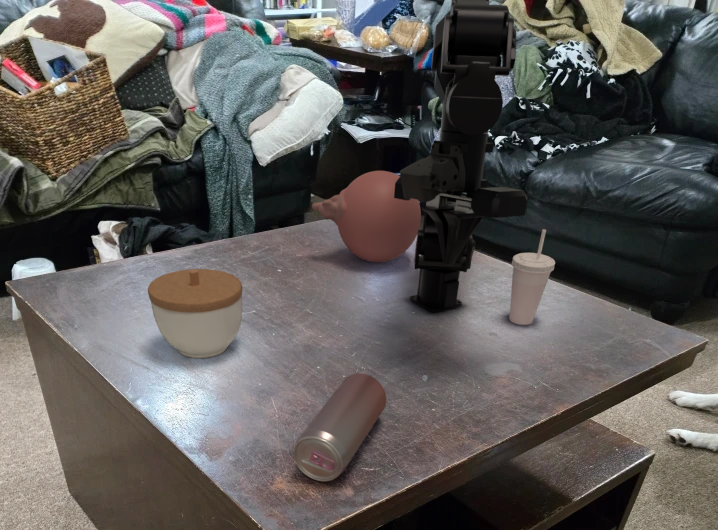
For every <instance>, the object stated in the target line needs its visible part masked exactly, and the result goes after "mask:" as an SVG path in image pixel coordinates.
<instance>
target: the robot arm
mask: <svg viewBox="0 0 718 530" xmlns="http://www.w3.org/2000/svg"><path fill="white" fill-rule="evenodd" d="M509 9H510V8H509V6H508V5H507V4H506V5H505V4H490V0H451V2H450V8H449V10H448V11H447V12H446V14H445V15H444V16H443V17H442V18H441V19H440V20H439V22H438V23H436V24H435V25H436V26H435V32H434V39H433V45H432V55H431V67H430V70H431V72H433V71H434V72H435V73H434V86H433V87H434V91H435V93H436V94H437V97H438V99H439V101H440V103H441V105H442V108H441V120H440V121H441V122H440V132H439V140H433V142H432V143H431V145H430V153H429V155H428V156H426V157H423V158H421V159H418V160H417V161H415V162H412V163H411V164H409V165H407V166H406V167H404V168H402V169H400V171H399V176H400V177H399V179H398V180H397V181H396V183H395V192H394V198H397V199H401V200H410V199H411V198H412V199H417V200H418V201H419V203H425V205H422V206H421V209H422V211H423V212H425V213H424V216H423V220H422V227H421V228H419V229H418V234H417V236H416V241H415V251H414V266H413V267H414V270H419V275H418V285H417V291H416V292H417V293H416V294H414V295H410V296H409V301H411V302H413V303H414V304H416V305H417V306H420V307H421V308H423V309H425V310H426V311H428V312H430V313H439V312H441V311H447V310H449V309H454V308H458V307H461V306H463V302H462V301H461V300H459V299H458V295H459V294H458V293H459V287H460V280H459V279H460V273H461V272H462V273H467V271H468V270H471V267H472V261H473V256H474V252H475V248H476V241H475V239H474V236H473V235H474V234H473V233H474V232H475V230H476V228H478V226H479V224H480V223H481V221H482V220H483V219H484V217H486V218H492V219H500V218H510V217H511V218H512V217H523V216H524V217H525V216H526V211H527V205H528V196H527V194H526V192H525V190H523V189H518V188H511V187H505V186H498V187H497V186H495V187H489V179H483V174H484V167H485V160H486V154H487V153H491V154H492V153H493V152H494V146H495V143H494V142H488V138H489V131H490V130H491V129H493V127H494V126H495V125H496V124H497V122H498V121H499V119H500V117H501V114H502V110H503V106H504V105H503V104H504V99H503V93H502V90H501V87H500V85H499V84H498V82H497V81H496V76H497V77H498V76H500V77H508V76H510V73H511V70H514V68H515V63H516V61H517V57H516V56H517V29H516V28H515V26H514V25H515V20H514V18H513V17H509V15H510V14H509V13H510V10H509Z"/></svg>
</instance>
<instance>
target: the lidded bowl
mask: <svg viewBox="0 0 718 530" xmlns="http://www.w3.org/2000/svg"><path fill="white" fill-rule="evenodd" d="M147 295H148V298H149V300H150V305H151V310H152V315H153V318H154V321H155V323H156V326H157V329H158V331H159V332H160V334H161V336H162V337H163V339H164V340H165V341H166V342H167V343H168V344H169V345H171V346H172V347H173V348H175V349H176V350H177V351H178V352H179V354H181V355H182V356H185V357H187V358H192V359H208V358H212V357H217V356H219V355H221V354H223V353H224V352H226V350H227V349H228V347H229V345H230V344H231V343H232V342H233V341H234V340H235V338H236V337H237V335H238V333H239V331H240V328H241V325H242V324H241V322H242V319H243V283H242V281H241V280H240V278H238V277H237V276H235V275H234V274H231V273H229V272H226V271H222V270H217V269H211V268H190V269H189V268H188V269H181V270H175V271H172V272H167V273H165V274H162V275H160V276H157V277H156V278H154V279H153V280H152V281H151V282H150V283H149V284H148V286H147Z"/></svg>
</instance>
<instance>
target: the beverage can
mask: <svg viewBox="0 0 718 530" xmlns="http://www.w3.org/2000/svg"><path fill="white" fill-rule="evenodd" d="M386 405H387V394H386V390H385V389H384V386H383V385H382V383H381V382H380V381H379V380H378V379H377V378H375V377H373V376H372V375H369V374H366V373H354V374H350V375H348V376H347V377H346V378H345V379H343V380H342V382H341V383H340V384H339V386H338V387H337V388H336V390H335V391H334V392H333V393H332V394H331V396H330V397H329V399H328V400H327V401H326V402H325V404H324V405H322V407H321V409H320V410H319V411H318V413H316V415H315V416H314V418H313V419H312V420H311V422H309V424H308V425H307V426H306V428H305V429H304V430H303V431H302V433H301V434H300V436H299V437H298V438H297V440H296V443H295V445H294V447H293V459H294V462H295V464H296V466H297V468H299V470H300V471H301V473H303V474H304V475H305V476H306V477H308V478H309V479H312V480H315V481H317V482H324V483H325V482H330V481H334V480H336V479H337V478H338V477H339V476H340V475H341V474H343V472H345V471H346V469H347V468H348V466H349V464H350V463H351V461H352V459H353V458H354V456H355V454H356V453H357V452H358V450H359V448H360V447H361V445H363V442H364V440H365V439H366V438H367V436H368V435H369V433H370V432H371V430H372V429H373V427H374V426H375V424H376V422H377V420H378V419H379V417H380V416H381V414H382V413H383V411H384V409H385V408H386Z"/></svg>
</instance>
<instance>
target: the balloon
mask: <svg viewBox="0 0 718 530" xmlns="http://www.w3.org/2000/svg"><path fill="white" fill-rule="evenodd" d="M399 177H400V175H398V174H396V173H394V172H391V171H388V170H387V171H386V170H373V171H369V172H366V173H363V174H361V175H360V176H358V177H356V178H355V179H354V180H352V181H351V182H350V183H349V184H348V186H347V187H346V188H343V189H342V190H341V191H340V192H339V194H335V195H332V197H330V198H327V199H323V201H318V202H313V203H312V204H311V209H312V210H314V211H318V212H319V215H320V216H322V218H323V219H324V220H326V221H327V220H330V221H332V222H333V223H335V225H336V226H337V229H338V233H339V236H340V238H341V240H342V242H343V243H344V245H345V247H346V248H347V249H348V250H349V252H351V253H352V254H353V255H355V256H356V257H358V258H359V259H361V260H363V261H366V262H371V263H385V262H390V261H392V260H395V259H397V258H399V257H400V256H402V255H403V254H404V253H405V252H407V251H408V250H409V249H410V247H411V246H412V244H413V243H414V242H415V240H416V239H417V234H418V229H420V227H421V221H422V210H421V203H420V202H419V201H418V200H417V199H412V198H411V199H410V200H401V199H397V198H394V192H395V183H396V181H397V180H398V179H399Z"/></svg>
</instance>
